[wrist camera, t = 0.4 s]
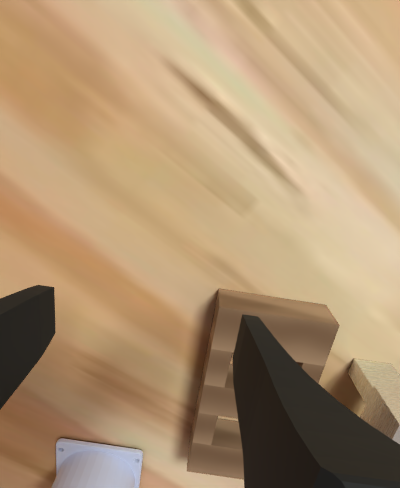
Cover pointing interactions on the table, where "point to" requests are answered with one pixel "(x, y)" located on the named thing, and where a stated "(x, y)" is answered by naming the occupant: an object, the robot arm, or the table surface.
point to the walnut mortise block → (221, 371)
